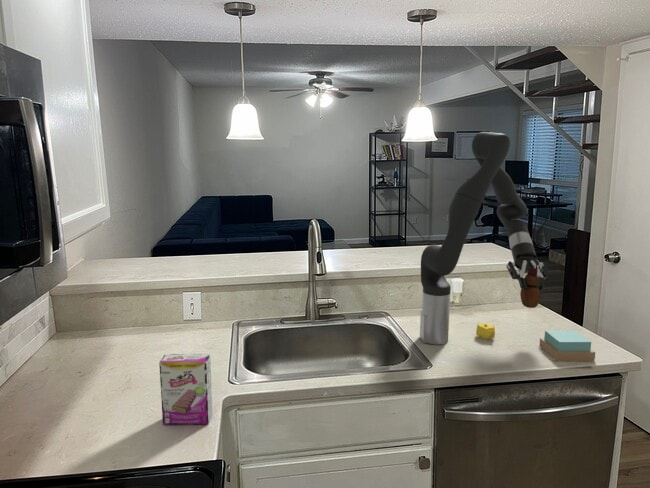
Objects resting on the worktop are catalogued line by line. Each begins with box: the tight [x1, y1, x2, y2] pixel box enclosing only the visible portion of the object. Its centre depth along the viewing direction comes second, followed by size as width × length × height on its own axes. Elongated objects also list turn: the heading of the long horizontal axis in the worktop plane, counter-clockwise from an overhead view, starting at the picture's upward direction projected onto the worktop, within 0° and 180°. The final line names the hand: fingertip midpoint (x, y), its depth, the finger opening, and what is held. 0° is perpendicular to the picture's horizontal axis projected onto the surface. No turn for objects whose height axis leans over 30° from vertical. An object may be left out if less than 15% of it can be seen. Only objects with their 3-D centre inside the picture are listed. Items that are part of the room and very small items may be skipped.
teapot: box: [475, 323, 496, 341], centre depth 171 cm, size 8×6×5 cm
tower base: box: [538, 330, 596, 362], centre depth 157 cm, size 12×12×6 cm
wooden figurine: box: [519, 265, 542, 309], centre depth 166 cm, size 7×6×15 cm
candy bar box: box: [158, 353, 213, 426], centre depth 117 cm, size 11×5×16 cm, turn 92°
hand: (533, 288), depth 164 cm, fingers closed on wooden figurine, 5 cm apart
